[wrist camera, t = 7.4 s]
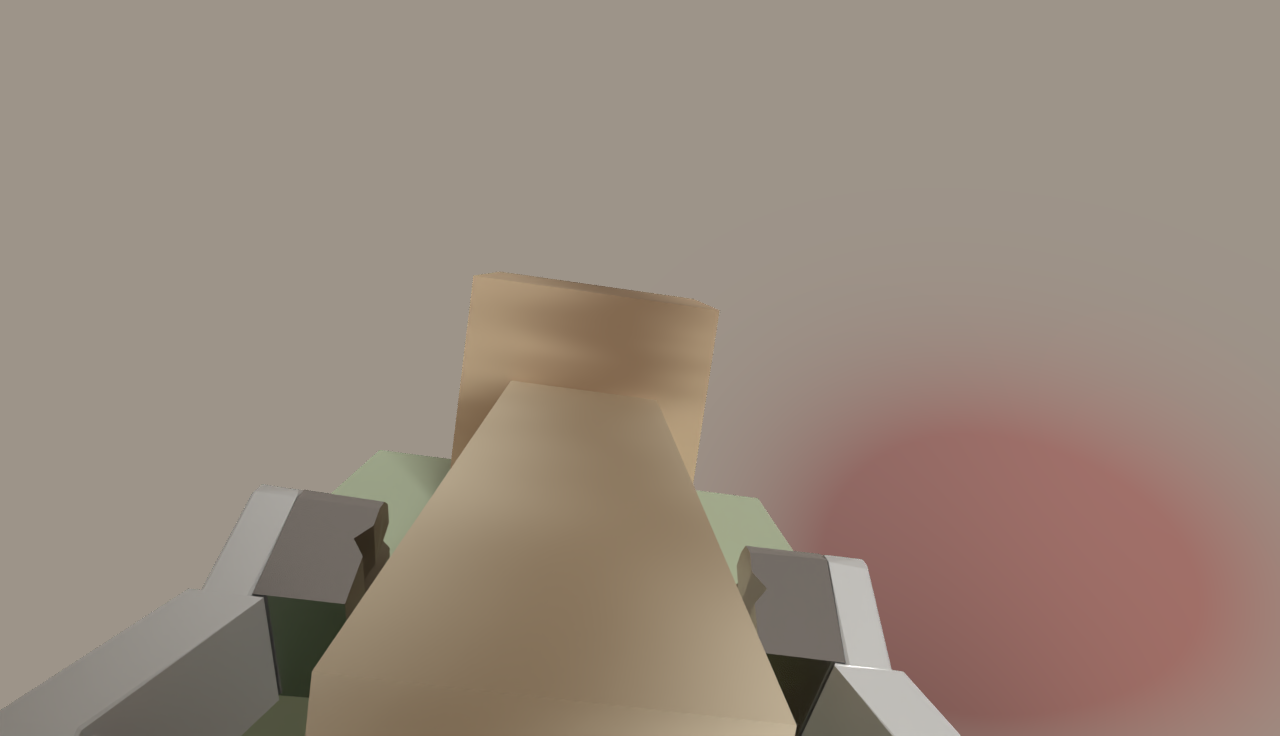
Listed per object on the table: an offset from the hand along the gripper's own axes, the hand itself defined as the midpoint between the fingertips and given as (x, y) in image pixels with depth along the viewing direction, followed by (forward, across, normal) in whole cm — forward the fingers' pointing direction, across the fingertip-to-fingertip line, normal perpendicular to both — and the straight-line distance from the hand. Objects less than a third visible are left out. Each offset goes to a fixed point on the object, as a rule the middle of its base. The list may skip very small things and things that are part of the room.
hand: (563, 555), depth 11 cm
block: (+2, 0, +3) cm, 4 cm away
